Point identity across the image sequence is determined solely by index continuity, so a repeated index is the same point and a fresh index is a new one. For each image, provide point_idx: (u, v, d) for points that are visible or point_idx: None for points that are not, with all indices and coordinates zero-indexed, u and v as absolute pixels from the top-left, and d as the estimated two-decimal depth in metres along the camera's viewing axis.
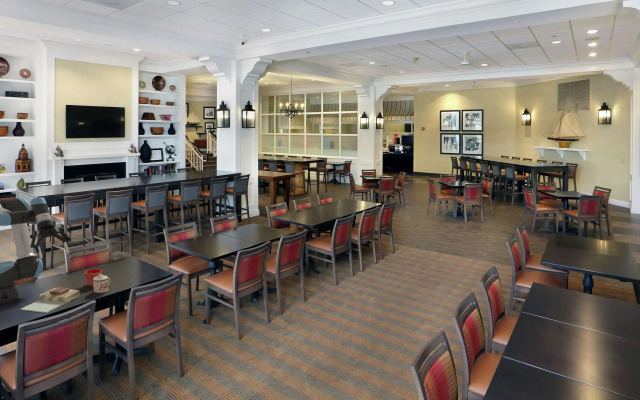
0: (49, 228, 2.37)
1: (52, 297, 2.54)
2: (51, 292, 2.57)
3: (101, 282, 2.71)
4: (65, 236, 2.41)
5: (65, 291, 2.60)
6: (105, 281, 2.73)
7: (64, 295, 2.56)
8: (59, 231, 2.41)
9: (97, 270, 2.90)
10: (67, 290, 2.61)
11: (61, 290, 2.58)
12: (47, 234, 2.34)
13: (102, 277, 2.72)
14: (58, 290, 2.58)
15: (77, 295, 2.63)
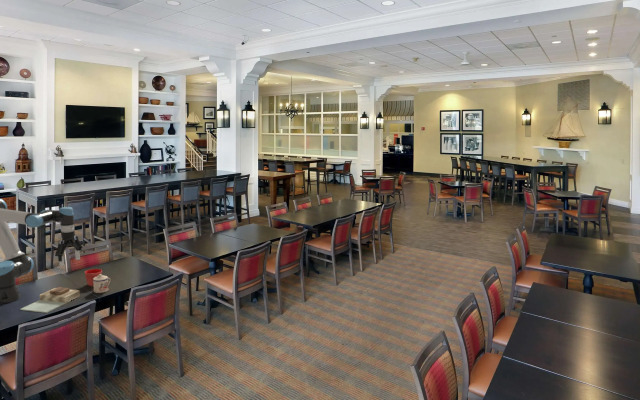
0: (71, 238, 2.65)
1: (52, 297, 2.54)
2: (51, 292, 2.57)
3: (101, 282, 2.71)
4: (79, 245, 2.73)
5: (65, 291, 2.60)
6: (105, 281, 2.73)
7: (64, 295, 2.56)
8: None
9: (97, 270, 2.90)
10: (67, 290, 2.61)
11: (61, 290, 2.58)
12: (69, 244, 2.64)
13: (102, 277, 2.72)
14: (58, 290, 2.58)
15: (77, 295, 2.63)
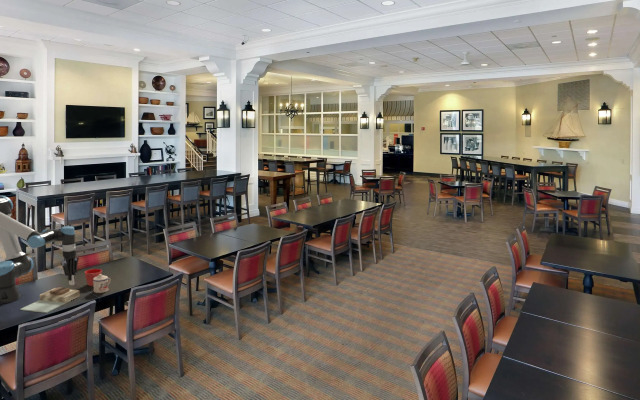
0: None
1: (52, 297, 2.54)
2: (51, 292, 2.57)
3: (101, 282, 2.71)
4: (75, 267, 2.71)
5: (65, 291, 2.60)
6: (105, 281, 2.73)
7: (64, 295, 2.56)
8: None
9: (97, 270, 2.90)
10: (67, 290, 2.61)
11: (61, 290, 2.58)
12: None
13: (102, 277, 2.72)
14: (58, 290, 2.58)
15: (77, 295, 2.63)
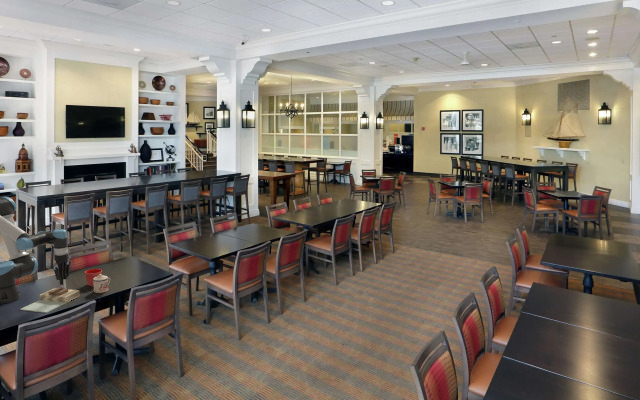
0: None
1: (52, 297, 2.54)
2: (49, 292, 2.56)
3: (101, 282, 2.71)
4: (67, 271, 2.64)
5: (64, 291, 2.59)
6: (105, 281, 2.73)
7: (64, 295, 2.56)
8: None
9: (97, 270, 2.90)
10: (66, 290, 2.60)
11: (60, 291, 2.58)
12: None
13: (102, 277, 2.72)
14: (56, 291, 2.57)
15: (77, 295, 2.63)
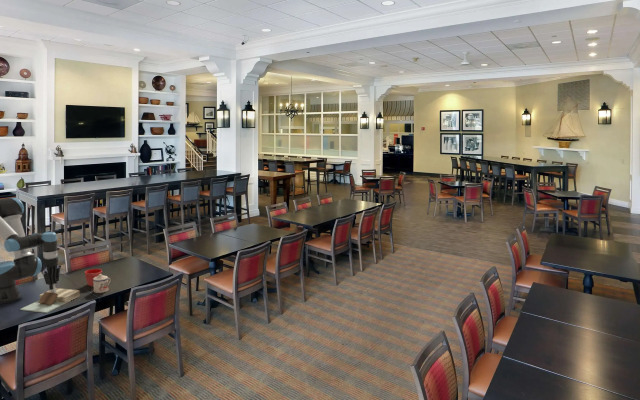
0: None
1: None
2: (40, 303, 2.49)
3: (101, 282, 2.71)
4: (57, 275, 2.56)
5: (54, 298, 2.51)
6: (105, 281, 2.73)
7: (64, 295, 2.56)
8: (57, 268, 2.57)
9: (97, 270, 2.90)
10: (55, 296, 2.52)
11: (49, 299, 2.50)
12: None
13: (102, 277, 2.72)
14: (46, 301, 2.49)
15: (77, 295, 2.63)
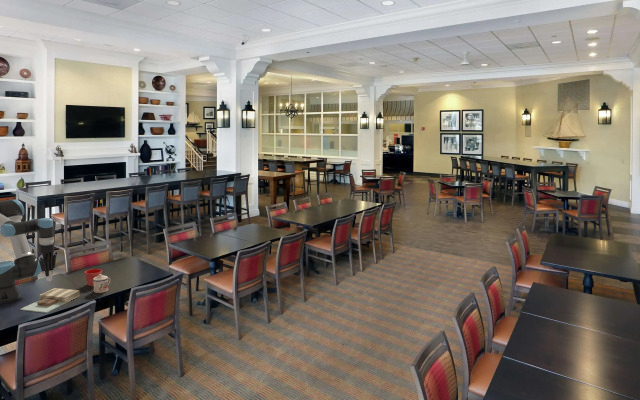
0: None
1: (52, 297, 2.54)
2: (38, 303, 2.48)
3: (101, 282, 2.71)
4: (53, 262, 2.53)
5: (53, 302, 2.51)
6: (105, 281, 2.73)
7: (64, 295, 2.56)
8: (53, 255, 2.54)
9: (97, 270, 2.90)
10: (56, 301, 2.52)
11: (49, 301, 2.50)
12: None
13: (102, 277, 2.72)
14: (46, 302, 2.49)
15: (77, 295, 2.63)
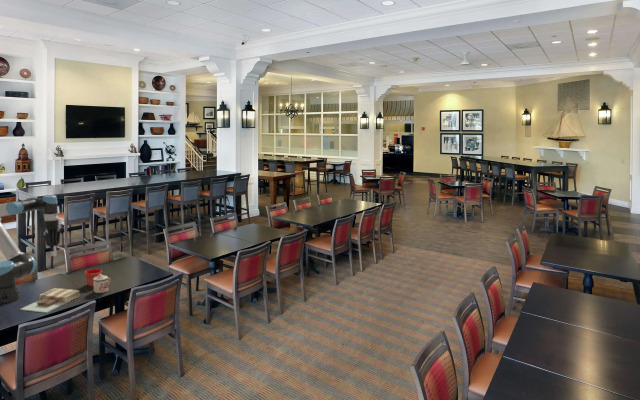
0: None
1: (52, 297, 2.54)
2: (38, 303, 2.48)
3: (101, 282, 2.71)
4: (58, 238, 2.64)
5: (53, 302, 2.51)
6: (105, 281, 2.73)
7: (64, 295, 2.56)
8: (57, 231, 2.65)
9: (97, 270, 2.90)
10: (56, 301, 2.52)
11: (49, 301, 2.50)
12: None
13: (102, 277, 2.72)
14: (46, 302, 2.49)
15: (77, 295, 2.63)
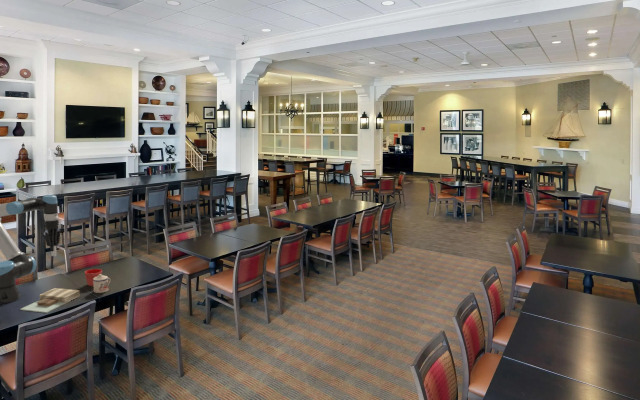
0: None
1: (52, 297, 2.54)
2: (38, 303, 2.48)
3: (101, 282, 2.71)
4: (58, 238, 2.64)
5: (53, 302, 2.51)
6: (105, 281, 2.73)
7: (64, 295, 2.56)
8: (57, 231, 2.65)
9: (97, 270, 2.90)
10: (56, 301, 2.52)
11: (49, 301, 2.50)
12: None
13: (102, 277, 2.72)
14: (46, 302, 2.49)
15: (77, 295, 2.63)
